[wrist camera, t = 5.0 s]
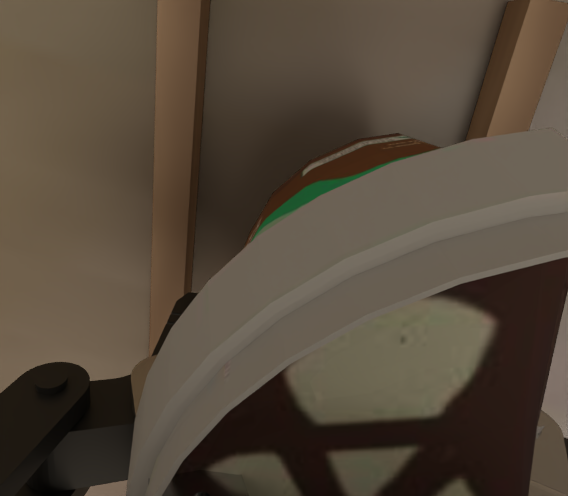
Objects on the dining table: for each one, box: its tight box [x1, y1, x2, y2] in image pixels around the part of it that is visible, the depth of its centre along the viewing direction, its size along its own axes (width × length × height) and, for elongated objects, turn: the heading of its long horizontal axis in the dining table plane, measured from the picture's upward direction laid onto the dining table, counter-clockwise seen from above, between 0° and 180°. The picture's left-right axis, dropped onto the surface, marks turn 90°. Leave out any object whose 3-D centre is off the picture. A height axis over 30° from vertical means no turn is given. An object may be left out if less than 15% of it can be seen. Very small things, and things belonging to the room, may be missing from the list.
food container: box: [126, 128, 568, 496], centre depth 11 cm, size 12×6×10 cm, turn 3°
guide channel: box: [149, 0, 568, 357], centre depth 18 cm, size 11×32×4 cm, turn 172°
